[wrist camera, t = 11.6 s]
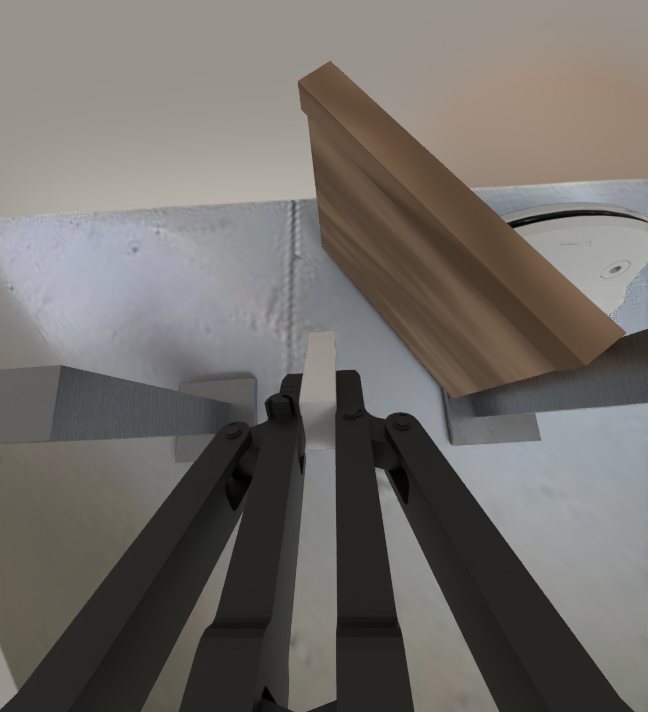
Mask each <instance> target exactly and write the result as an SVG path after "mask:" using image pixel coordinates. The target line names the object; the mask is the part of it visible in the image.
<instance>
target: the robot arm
mask: <svg viewBox="0 0 648 712" xmlns="http://www.w3.org/2000/svg"><path fill="white" fill-rule="evenodd" d="M265 407H266V412H267V416H268V421H266V422H264V423H262V424H259V425H256V426H252V427H249V425H248V424H247V423H245V422H242V421H234V422H231V423H228V424H226V425H225V426H223V427H222V428H221V429H220V430H219V431H218V432H217V434H216V435H215V436H214V438H213V439H212V440H211V442H210V443H209V444H208V445H207V447H206V448H205V449H204V451H203V452H202V453H201V455H200V456H199V457H198V458H197V460H196V461H195V462H194V464H193V465H192V466H191V468H190V469H189V470H188V472H187V473H186V474H185V475H184V477H183V478H182V479H181V481H180V482H179V483H178V485H177V486H176V487H175V488H174V490H173V491H172V492H171V494H170V495H169V496H168V498H167V499H166V500H165V501H164V503H163V504H162V505H161V507H160V508H159V509H158V511H157V512H156V513H155V514H154V516H153V517H152V518H151V520H150V521H149V522H148V524H147V525H146V526H145V528H144V529H143V530H142V531H141V533H140V534H139V535H138V537H137V538H136V539H135V541H134V542H133V543H132V544H131V546H130V547H129V548H128V550H127V551H126V552H125V554H124V555H123V556H122V557H121V559H120V560H119V561H118V563H117V564H116V565H115V567H114V568H113V569H112V570H111V572H110V573H109V574H108V576H107V577H106V578H105V580H104V581H103V582H102V584H101V585H100V586H99V587H98V589H97V590H96V591H95V593H94V594H93V595H92V597H91V598H90V599H89V600H88V602H87V603H86V604H85V606H84V607H83V608H82V610H81V611H80V612H79V613H78V615H77V616H76V617H75V619H74V620H73V621H72V623H71V624H70V625H69V626H68V628H67V629H66V630H65V632H64V633H63V634H62V636H61V637H60V638H59V640H58V641H57V642H56V643H55V645H54V646H53V647H52V649H51V650H50V651H49V653H48V654H47V655H46V656H45V658H44V659H43V660H42V662H41V663H40V664H39V666H38V667H37V668H36V669H35V671H34V672H33V673H32V675H31V676H30V677H29V679H28V680H27V681H26V683H25V684H24V685H23V686H22V688H21V689H20V690H19V692H18V693H17V694H16V695H15V696H14V697H13V698H12V699H11V700H10V701H9V702H8V703H7V704H6V705H5V706H4V707H3V708H1V710H0V712H140V711H141V709H142V707H143V705H144V703H145V701H146V699H147V698H148V696H149V694H150V692H151V690H152V688H153V686H154V684H155V682H156V680H157V678H158V676H159V674H160V672H161V670H162V668H163V666H164V664H165V662H166V660H167V659H168V657H169V655H170V653H171V651H172V649H173V647H174V645H175V643H176V641H177V639H178V637H179V635H180V633H181V631H182V629H183V627H184V625H185V623H186V621H187V619H188V618H189V616H190V614H191V612H192V610H193V608H194V606H195V604H196V602H197V600H198V598H199V596H200V594H201V592H202V590H203V588H204V586H205V584H206V582H207V580H208V579H209V577H210V575H211V573H212V571H213V569H214V567H215V565H216V563H217V561H218V559H219V557H220V555H221V553H222V551H223V549H224V547H225V545H226V543H227V541H228V540H229V538H230V536H231V534H232V532H233V530H234V528H235V526H236V524H237V522H238V520H239V518H240V516H241V514H242V512H243V515H242V519H241V523H240V526H239V530H238V534H237V538H236V542H235V545H234V549H233V553H232V557H231V560H230V564H229V568H228V572H227V576H226V579H225V583H224V587H223V591H222V594H221V598H220V602H219V606H218V610H217V613H216V616H215V619H214V621H213V623H212V624H211V625H210V626H208V627H207V628H206V629H205V631H204V633H203V635H202V637H201V639H200V642H199V644H198V647H197V650H196V653H195V657H194V660H193V664H192V667H191V671H190V674H189V678H188V681H187V685H186V688H185V692H184V695H183V699H182V702H181V706H180V709H179V712H293V711H291V710H289V709H288V696H289V669H288V658H289V645H290V634H291V623H292V611H293V600H294V589H295V577H296V566H297V555H298V544H299V532H300V521H301V510H302V498H303V487H304V476H305V465H306V457H305V444H306V450H312V449H335V451H336V538H337V628H336V685H337V700H335V701H333V702H330V703H328V704H325V705H323V706H320V707H318V708H315V709H313V710H310V711H308V712H414V706H413V700H412V694H411V687H410V681H409V674H408V668H407V661H406V655H405V649H404V643H403V637H402V632H401V628H400V625H399V623H398V619H397V614H396V607H395V601H394V594H393V587H392V580H391V574H390V567H389V560H388V553H387V547H386V540H385V533H384V526H383V520H382V513H381V506H380V500H379V493H378V486H377V479H376V473H375V467H377V468H381V469H384V471H385V473H386V476H387V478H388V480H389V482H390V484H391V486H392V488H393V490H394V492H395V494H396V496H397V499H398V501H399V503H400V505H401V507H402V509H403V511H404V513H405V515H406V517H407V519H408V522H409V524H410V526H411V528H412V530H413V532H414V534H415V536H416V538H417V540H418V542H419V545H420V547H421V549H422V551H423V553H424V555H425V557H426V559H427V561H428V563H429V565H430V568H431V570H432V572H433V574H434V576H435V578H436V580H437V582H438V584H439V586H440V588H441V591H442V593H443V595H444V597H445V599H446V601H447V603H448V605H449V607H450V609H451V611H452V613H453V616H454V618H455V620H456V622H457V624H458V626H459V628H460V630H461V632H462V634H463V636H464V639H465V641H466V643H467V645H468V647H469V649H470V651H471V653H472V655H473V657H474V659H475V662H476V664H477V666H478V668H479V670H480V672H481V674H482V676H483V678H484V680H485V682H486V685H487V687H488V689H489V691H490V693H491V695H492V697H493V699H494V701H495V703H496V705H497V708H498V710H499V712H634V711H633V710H632V709H631V708H630V707H629V706H628V705H627V704H626V703H625V702H624V701H623V700H622V699H621V698H620V697H619V695H618V694H617V693H616V691H615V690H614V689H613V687H612V686H611V684H610V683H609V682H608V680H607V679H606V678H605V676H604V675H603V674H602V672H601V671H600V669H599V668H598V667H597V665H596V664H595V663H594V661H593V660H592V658H591V657H590V656H589V654H588V653H587V652H586V650H585V649H584V647H583V646H582V645H581V643H580V642H579V641H578V639H577V638H576V636H575V635H574V634H573V632H572V631H571V630H570V628H569V627H568V626H567V624H566V623H565V621H564V620H563V619H562V617H561V616H560V615H559V613H558V612H557V610H556V609H555V608H554V606H553V605H552V604H551V602H550V601H549V599H548V598H547V597H546V595H545V594H544V593H543V591H542V590H541V589H540V587H539V586H538V584H537V583H536V582H535V580H534V579H533V578H532V576H531V575H530V573H529V572H528V571H527V569H526V568H525V567H524V565H523V564H522V562H521V561H520V560H519V558H518V557H517V556H516V554H515V553H514V552H513V550H512V549H511V547H510V546H509V545H508V543H507V542H506V541H505V539H504V538H503V536H502V535H501V534H500V532H499V531H498V530H497V528H496V527H495V525H494V524H493V523H492V521H491V520H490V519H489V517H488V516H487V514H486V513H485V512H484V510H483V509H482V508H481V506H480V505H479V504H478V502H477V501H476V499H475V498H474V497H473V495H472V494H471V493H470V491H469V490H468V488H467V487H466V486H465V484H464V483H463V482H462V480H461V479H460V477H459V476H458V475H457V473H456V472H455V471H454V469H453V468H452V467H451V465H450V464H449V462H448V461H447V460H446V458H445V457H444V456H443V454H442V453H441V451H440V450H439V449H438V447H437V446H436V445H435V443H434V442H433V440H432V439H431V438H430V436H429V435H428V434H427V432H426V431H425V430H424V428H423V427H422V425H421V424H420V423H419V421H418V420H417V419H416V418H415V417H414V416H412V415H410V414H407V413H402V412H400V413H393V414H391V415H389V416H388V417H387V418H386V419H381V418H377V417H374V416H372V415H370V414H369V413H368V412H367V411H366V409H365V407H364V400H363V393H362V387H361V380H360V375H359V374H358V373H357V371H356V370H341V371H337V360H336V346H335V332H334V330H332V331H317V332H309V337H308V344H307V351H306V358H305V365H304V371H303V373H301V374H287V376H286V377H285V378H284V379H283V380H282V383H281V388H280V393H277V394H274V395H272V396H270V397H269V398H268V399H267V400H266V402H265ZM243 510H244V511H243Z"/></svg>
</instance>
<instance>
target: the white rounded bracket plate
mask: <svg viewBox="0 0 648 712" xmlns="http://www.w3.org/2000/svg"><path fill="white" fill-rule="evenodd" d="M500 217H501V218H502V219H503V220H504V221H505V222H506V223H507V224H508V225H509V226H510V227H512V228H513V229H514V230H515V231H516V232H517V233H518V234H519V235H520V236H521V237H522V238H524V239H525V240H526V241H527V242H528V243H529V244H530V245H531V246H532V247H533V248H534V249H535V250H537V251H538V252H539V253H540V254H541V255H542V256H543V257H544V258H545V259H546V260H547V261H549V262H550V263H551V264H552V265H553V266H554V267H555V268H556V269H557V270H558V271H559V272H561V273H562V274H563V275H564V276H565V277H566V278H567V279H568V280H569V281H570V282H571V283H572V284H574V285H575V286H576V287H577V288H578V289H579V290H580V291H581V292H582V293H583V294H584V295H586V296H587V297H588V298H589V299H590V300H591V301H592V302H593V303H594V304H595V305H596V306H598V307H599V308H600V309H601V310H602V311H603V312H604V313H605V314H612V313H613V312H614V311H615V310H616V309H618V308H619V307H620V306H621V305H622V304H623V303H624V302H625V297H626V289H627V287H628V285H629V284H630V283H631V282H632V281H633V280H634V279H635V277H636V276H637V275H638V274H639V273H640V272H641V271H642V269H643V268H644V267H645V266H646V265H647V264H648V217H646V216H644V215H641V214H639V213H637V212H634V211H632V210H630V209H626V208H623V207H619V206H615V205H610V204H601V203H587V202H577V203H560V204H552V205H545V206H539V207H533V208H529V209H524V210H520V211H516V212H513V213H509V214H506V215H502V216H500Z"/></svg>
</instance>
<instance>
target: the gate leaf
mask: <svg viewBox="0 0 648 712" xmlns="http://www.w3.org/2000/svg"><path fill="white" fill-rule="evenodd" d="M298 87H299V94H300V102H301V109H302V111H304V113H305V114H306V115H307V116H308V123H309V133H310V142H311V150H312V159H313V168H314V177H315V186H316V195H317V204H318V213H319V221H320V230H321V239H322V247H323V248H324V249H325V250H326V252H327V253H328V254H329V255H330V256H331V257H332V259H333V260H334V261H335V262H336V263H337V264H338V266H339V267H340V268H341V269H342V270H343V271H344V273H345V274H346V275H347V276H348V277H349V278H350V280H351V281H352V282H353V283H354V284H355V285H356V287H357V288H358V289H359V290H360V291H361V292H362V294H363V295H364V296H365V297H366V298H367V300H368V301H369V302H370V303H371V304H372V305H373V307H374V308H375V309H376V310H377V311H378V312H379V314H380V315H381V316H382V317H383V318H384V319H385V321H386V322H387V323H388V324H389V325H390V326H391V328H392V329H393V330H394V331H395V332H396V333H397V335H398V336H399V337H400V338H401V339H402V340H403V342H404V343H405V344H406V345H407V346H408V347H409V349H410V350H411V351H412V352H413V353H414V354H415V356H416V357H417V358H418V359H419V360H420V361H421V363H422V364H423V365H424V366H425V367H426V369H427V370H428V371H429V372H430V373H431V374H432V376H433V377H434V378H435V379H436V380H437V381H438V383H439V384H440V385H441V386H442V387H443V388H444V390H445V391H446V392H447V393H448V394H449V395H450V397H451V398H452V399H453V398H457V397H460V396H464V395H468V394H471V393H475V392H479V391H482V390H486V389H490V388H493V387H497V386H501V385H504V384H508V383H512V382H515V381H519V380H523V379H526V378H530V377H533V376H537V375H541V374H544V373H548V372H552V371H555V370H558V371H559V372H564V371H568V370H572V369H576V368H579V367H583V366H587V365H588V364H589V363H590V362H592V361H593V360H594V359H595V358H596V357H598V356H599V355H600V354H601V353H603V352H604V351H605V350H606V349H607V348H609V347H610V346H611V345H612V344H614V343H615V342H616V341H617V340H618V339H620V338H621V337H622V336H623V335H625V334H626V332H625V331H624V330H623V329H621V328H620V327H619V326H618V325H617V324H616V323H615V322H614V321H613V320H612V319H611V318H609V317H608V316H607V315H606V314H605V313H604V312H603V311H602V310H601V309H600V308H599V307H598V306H596V305H595V304H594V303H593V302H592V301H591V300H590V299H589V298H588V297H587V296H586V295H584V294H583V293H582V292H581V291H580V290H579V289H578V288H577V287H576V286H575V285H574V284H572V283H571V282H570V281H569V280H568V279H567V278H566V277H565V276H564V275H563V274H562V273H561V272H559V271H558V270H557V269H556V268H555V267H554V266H553V265H552V264H551V263H550V262H549V261H547V260H546V259H545V258H544V257H543V256H542V255H541V254H540V253H539V252H538V251H537V250H535V249H534V248H533V247H532V246H531V245H530V244H529V243H528V242H527V241H526V240H525V239H524V238H522V237H521V236H520V235H519V234H518V233H517V232H516V231H515V230H514V229H513V228H512V227H510V226H509V225H508V224H507V223H506V222H505V221H504V220H503V219H502V218H501V217H500V216H498V215H497V214H496V213H495V212H494V211H493V210H492V209H491V208H490V207H489V206H488V205H487V204H485V203H484V202H483V201H482V200H481V199H480V198H479V197H478V196H477V195H476V194H475V193H473V192H472V191H471V190H470V189H469V188H468V187H467V186H466V185H465V184H464V183H462V181H460V180H459V179H458V178H457V177H456V176H455V175H454V174H453V173H452V172H451V171H450V170H448V169H447V168H446V167H445V166H444V165H443V164H442V163H441V162H440V161H439V160H438V159H436V158H435V157H434V156H433V155H432V154H431V153H430V152H429V151H428V150H427V149H426V148H425V147H423V146H422V145H421V144H420V143H419V142H418V141H417V140H416V139H415V138H414V137H412V136H411V135H410V134H409V133H408V132H407V131H406V130H405V129H404V128H403V127H402V126H400V125H399V124H398V123H397V122H396V121H395V120H394V119H393V118H392V117H391V116H390V115H389V114H388V113H386V112H385V111H384V110H383V109H382V108H381V107H380V106H379V105H378V104H377V103H376V102H374V101H373V100H372V99H371V98H370V97H369V96H368V95H367V94H366V93H365V92H364V91H362V90H361V89H360V88H359V87H358V86H357V85H356V84H355V83H354V82H353V81H351V80H350V79H349V78H348V77H347V76H346V75H345V74H344V73H343V72H342V71H341V70H340V69H339V68H337V67H336V66H335V65H334V64H333V63H332V62H331V61H330V62H328V63H326V64H325V65H323V66H321V67H320V68H318V69H317V70H315V71H314V72H312V73H310V74H309V75H307V76H305V77H304V78H302V79H300V80H299V81H298Z"/></svg>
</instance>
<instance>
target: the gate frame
mask: <svg viewBox="0 0 648 712" xmlns="http://www.w3.org/2000/svg"><path fill="white" fill-rule="evenodd" d="M442 389H443V396H444V402H445V408H446V415H447V421H448V427H449V433H450V440H451V445H454V446H457V445H474V444H491V443H507V442H524V441H540V440H541V438H540V433H539V429H538V425H537V420H536V416H535V413H543V412H555V411H568V410H580V409H593V408H605V407H618V406H630V405H642V404H648V329H646V330H643V331H640V332H637V333H634V334H631V335H628V336H625V337H622V338H620V339H618V340H617V341H616V342H615V343H614V344H612V345H611V346H610V347H609V348H607V349H606V350H605V351H604V352H603V353H601V354H600V355H599V356H598V357H596V358H595V359H594V360H593V361H592V362H590V363H589V364H588V365H587V366H583V367H579V368H576V369H572V370H568V371H564V372H559V371H558V370H555V371H552V372H548V373H544V374H541V375H537V376H533V377H530V378H526V379H523V380H519V381H515V382H512V383H508V384H504V385H501V386H497V387H493V388H490V389H486V390H482V391H479V392H475V393H471V394H468V395H464V396H460V397H457V398H453V399H452V398H451V397H450V395H449V394H448V393H447V392H446V391H445V390H444V388H443V387H442ZM234 421H242V422H245V423H247V424H248V425H249V427H252V426H256V425H257V379H255V378H243V379H230V380H216V381H202V382H188V383H180V387H179V392H178V391H173V390H169V389H164V388H160V387H155V386H151V385H147V384H142V383H138V382H133V381H129V380H124V379H120V378H115V377H111V376H107V375H102V374H98V373H93V372H89V371H84V370H80V369H75V368H71V367H66V366H62V365H58V366H45V367H32V368H19V369H6V370H0V444H13V443H35V442H57V441H79V440H101V439H124V438H146V437H168V436H177V441H176V459H175V462H191V461H196V460H197V458H198V457H199V456H200V455H201V453H202V452H203V451H204V449H205V448H206V447H207V445H208V444H209V443H210V442H211V440H212V439H213V438H214V436H215V435H216V434H217V432H218V431H219V430H220V429H221V428H222V427H223V426H225V425H226V424H228V423H231V422H234Z"/></svg>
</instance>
